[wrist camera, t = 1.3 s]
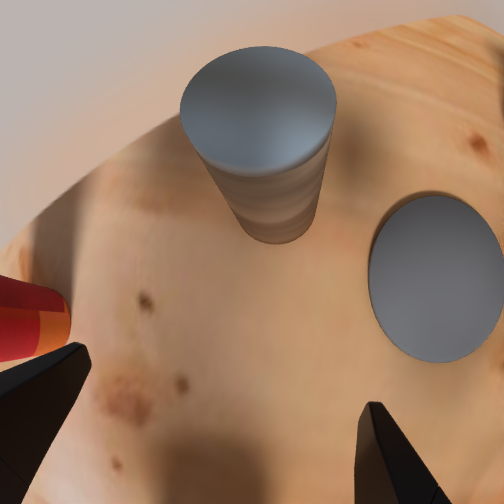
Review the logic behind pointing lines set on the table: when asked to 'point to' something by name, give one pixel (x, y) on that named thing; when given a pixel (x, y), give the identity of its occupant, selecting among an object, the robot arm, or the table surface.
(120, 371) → the table surface
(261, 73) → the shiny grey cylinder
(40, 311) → the paper cup
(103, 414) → the table surface
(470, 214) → the felt mat
